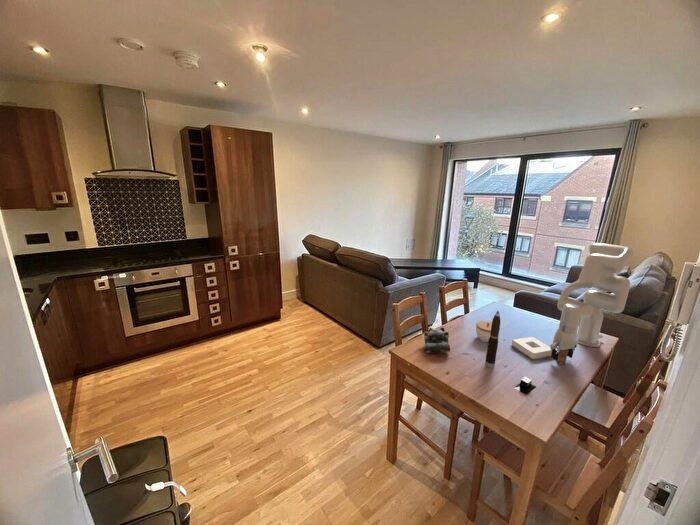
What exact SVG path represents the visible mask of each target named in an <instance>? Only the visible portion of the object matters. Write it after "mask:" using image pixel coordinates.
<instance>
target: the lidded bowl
mask: <svg viewBox="0 0 700 525" xmlns="http://www.w3.org/2000/svg"><path fill="white" fill-rule="evenodd" d="M475 326H476V327H475V333H476V336H477V337H478V338H479V340H480V341H481V342H484V343H488V341H489V338H490V333H491V326H492V321H489V320H479V321H477V322H476V323H475ZM500 329H501V328H500ZM500 329H499V331H500Z"/></svg>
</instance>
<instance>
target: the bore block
mask: <svg viewBox="0 0 700 525" xmlns="http://www.w3.org/2000/svg"><path fill="white" fill-rule="evenodd" d="M511 347H512V348H514V349H515V350H517V351H518V352H519V353H521V354H523V355H524V356H525V357H527V358H529V359H530V360H531V361H535V360H539V359H540V360H541V359H545V358H551V354H552V351H551V347H550V345H547V344H546V343H544V342H542V341H540V340H538V339H537V338H535V337H534V336H528V337H523V338H522V337H521V338H516V339H512V342H511Z"/></svg>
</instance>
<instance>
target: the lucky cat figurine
mask: <svg viewBox="0 0 700 525" xmlns="http://www.w3.org/2000/svg"><path fill="white" fill-rule="evenodd" d="M423 335H424V339H423V340H424V345H423V350H424V352H425V353H426V354H430V353H431V354H433V353H435V354H437V353H438V354H439V353H449V352H451V347H450V346H451V345H450V343H449V337H450V336H449V332H448V331H445V328H444V327H440V328H431V327H430V328H429V329H428V331H424V332H423Z"/></svg>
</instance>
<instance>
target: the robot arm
mask: <svg viewBox="0 0 700 525" xmlns="http://www.w3.org/2000/svg"><path fill="white" fill-rule="evenodd" d="M588 251H589V254H588V255H587V257H586V259H585V261H584V264H583V266H582V269H581V272H580V273H579V276H578V278H577V280H576V281H574V282H572V283H570V284H568V285H567V286H565V287H564V288H563V290H562V291H561V294H560V296H559V298H558V300H557V305H556V306H557V309H558V311H560V312H561V316H560V320H559V324H558V329H557V330H556V332H555V334H554V337H553V340H552V343H551V344H550V345H549V347H551V351H552V354H551V357H550V358H551V359H553V360H554V361H557V360H558V355H559V354H558V352H559V351H560V350H566V349H568V353H567V358H570V359H571V358H573V357H574V356H573V355H574V351H576V348H577V346H578V344H579V345H582V346H586V347H590V348H598V347H600V346H601V342H600V341H599V340H600V339H602V338H604V337H603V335H602V334H600V333H601V328H602V325H603V321H604V313H603V311H606V312H610V313H614V314H620V313H622V312H624V310H625V306H626V304H627V301H628V300H627V299H628V296H629V292H630V288H631V281H630V279H629V278H627V277H626V276H621V275H616V274H620V273H621V272H623V270H624V269H625V267H626V266H627V265H628V264H629V263H630V261H631V260H632V258H633V256H634V250H633V249H632V248H631V247H630V246H625V245H617V244H613V243H612V244H611V243H610V244H609V243H603V242H594V243H592V244H590V245H589V250H588ZM590 288H593V289H596V290H592V289H591V290H590ZM580 289H589V290H587V291H585V293H584V294H583V302H582V301H580V300H576V299H572V298H569V296H570V294H571V293H573V292H574V291H577V290H580ZM600 290H601V291H600Z"/></svg>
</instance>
